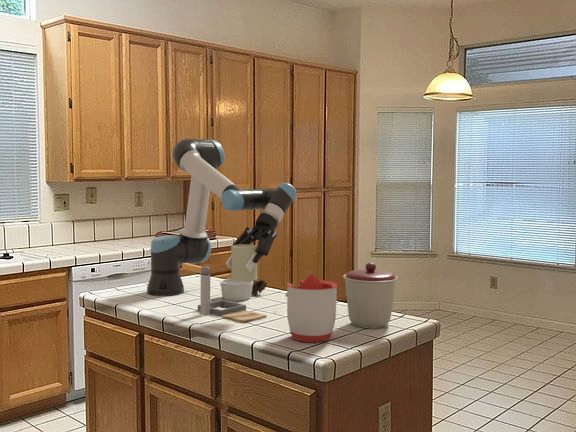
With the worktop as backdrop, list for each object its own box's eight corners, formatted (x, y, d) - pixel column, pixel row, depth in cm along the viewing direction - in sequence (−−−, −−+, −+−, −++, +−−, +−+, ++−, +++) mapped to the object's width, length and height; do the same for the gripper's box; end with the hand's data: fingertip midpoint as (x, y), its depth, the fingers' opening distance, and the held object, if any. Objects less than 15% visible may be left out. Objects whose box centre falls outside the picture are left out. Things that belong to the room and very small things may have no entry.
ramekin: (238, 303, 238) (238, 285, 237) (213, 298, 246) (213, 281, 245) (259, 297, 249) (259, 280, 248) (234, 293, 256) (234, 277, 256)
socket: (191, 311, 222) (191, 273, 221) (222, 305, 234) (222, 268, 233) (214, 317, 214) (214, 277, 213) (246, 310, 226) (246, 272, 225)
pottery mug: (236, 296, 252) (235, 277, 256) (246, 302, 260) (245, 284, 264) (263, 291, 249) (262, 272, 252) (272, 297, 257) (271, 278, 260)
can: (245, 275, 220) (245, 242, 219) (263, 279, 214) (263, 244, 213) (225, 278, 214) (225, 244, 213) (242, 282, 207) (242, 247, 206)
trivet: (221, 317, 214) (221, 315, 214) (244, 312, 222) (244, 310, 222) (244, 323, 207) (244, 320, 207) (266, 317, 215) (266, 315, 215)
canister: (331, 325, 206) (332, 262, 204) (361, 315, 219) (362, 257, 218) (378, 335, 194) (379, 269, 192) (406, 324, 208) (408, 262, 206)
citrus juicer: (303, 327, 202) (304, 267, 200) (346, 337, 191) (347, 273, 189) (271, 337, 190) (271, 273, 189) (315, 348, 179) (316, 280, 177)
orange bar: (203, 274, 216) (204, 267, 216) (180, 268, 229) (180, 262, 228) (211, 274, 218) (211, 267, 218) (187, 267, 230) (187, 261, 230)
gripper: (297, 227, 217) (265, 278, 206) (253, 223, 231) (221, 270, 220) (287, 213, 213) (254, 264, 202) (243, 210, 227) (210, 257, 216)
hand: (237, 267), depth 211 cm, fingers closed on can, 9 cm apart
